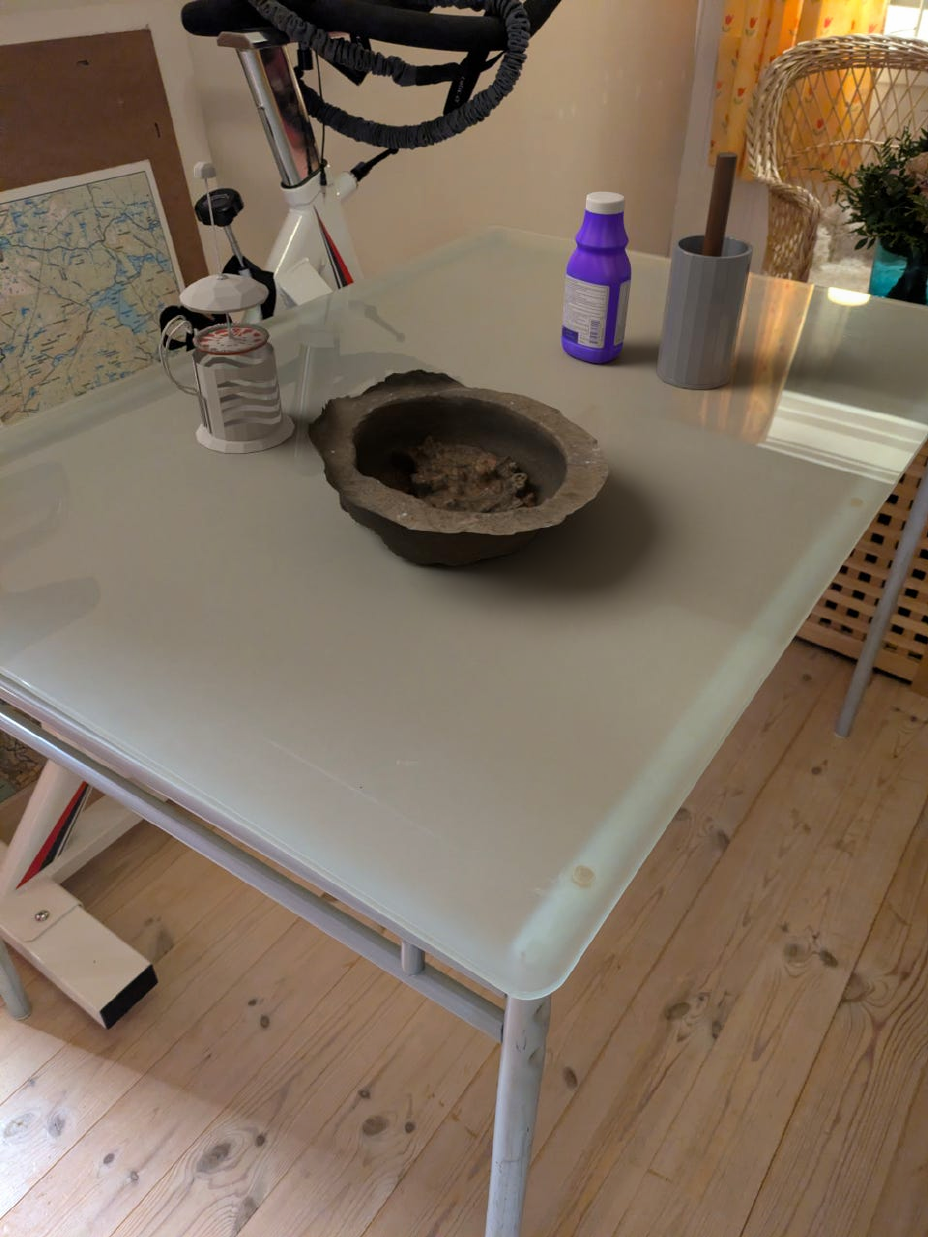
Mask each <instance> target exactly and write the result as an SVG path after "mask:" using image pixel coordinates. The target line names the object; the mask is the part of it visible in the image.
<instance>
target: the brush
mask: <svg viewBox="0 0 928 1237" xmlns="http://www.w3.org/2000/svg"><path fill="white" fill-rule="evenodd" d="M738 159H739V154H738V153H735V152H732V151H731V152H730V151H722V152H718V153H717V154H716V159H715V165H714V171H713V178H712V183H711V184H712V185H711V191H710V197H709V202H708V204H709V205H708V210H707V218H706V223H705V229H704V230H705V231H704V234H705V236H704V243H703V249H702V255H703V256H713V257H721V256H722V250H723V244H724V238H725V235H726V231H727V225H728V219H729V213H730V207H731V201H732V195H733V188H734V184H735V178H736V171H737V165H738Z"/></svg>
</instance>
